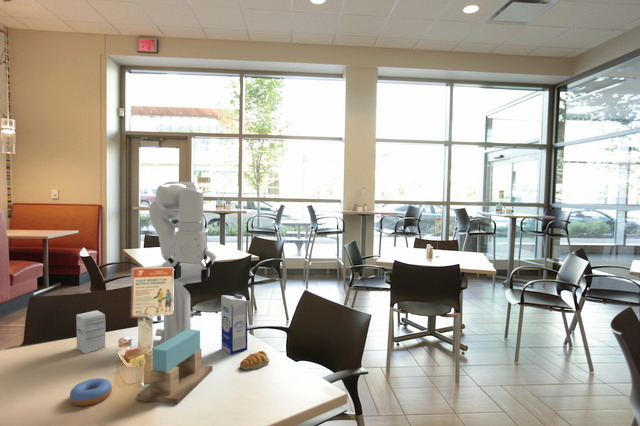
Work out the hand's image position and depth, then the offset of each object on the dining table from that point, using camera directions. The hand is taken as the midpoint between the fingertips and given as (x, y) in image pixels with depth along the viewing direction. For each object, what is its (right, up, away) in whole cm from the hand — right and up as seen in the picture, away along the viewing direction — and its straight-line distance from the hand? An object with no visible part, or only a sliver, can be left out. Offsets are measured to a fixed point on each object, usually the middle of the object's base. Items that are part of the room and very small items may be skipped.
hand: (190, 279), depth 122 cm
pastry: (+20, -29, +3) cm, 36 cm away
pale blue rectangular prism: (0, -22, -11) cm, 24 cm away
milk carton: (+11, -28, +15) cm, 34 cm away
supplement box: (-41, -28, +15) cm, 52 cm away
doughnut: (-21, -30, -18) cm, 41 cm away
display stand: (0, -29, -10) cm, 31 cm away
